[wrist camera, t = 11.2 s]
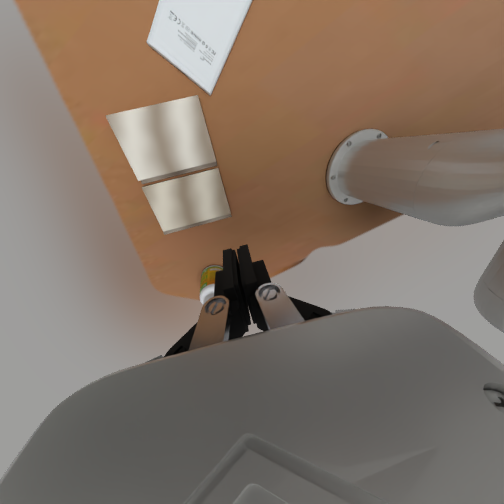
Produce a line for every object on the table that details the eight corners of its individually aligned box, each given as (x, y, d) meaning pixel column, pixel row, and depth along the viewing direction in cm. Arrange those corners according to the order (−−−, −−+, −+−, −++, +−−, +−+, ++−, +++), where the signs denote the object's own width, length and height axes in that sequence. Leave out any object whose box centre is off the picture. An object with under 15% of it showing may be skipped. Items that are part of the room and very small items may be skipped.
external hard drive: (258, -12, 22) (210, 97, 25) (193, -93, 18) (149, 47, 22) (262, -24, 20) (210, 94, 24) (191, -114, 17) (145, 40, 21)
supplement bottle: (203, 262, 37) (201, 294, 29) (229, 266, 39) (234, 297, 30) (199, 283, 39) (196, 318, 31) (223, 286, 41) (226, 320, 33)
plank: (218, 167, 29) (218, 168, 28) (231, 214, 33) (231, 216, 32) (144, 186, 29) (141, 187, 27) (166, 232, 32) (164, 234, 31)
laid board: (198, 97, 25) (197, 95, 24) (217, 165, 29) (217, 165, 28) (109, 117, 24) (105, 115, 23) (143, 183, 28) (140, 184, 27)
